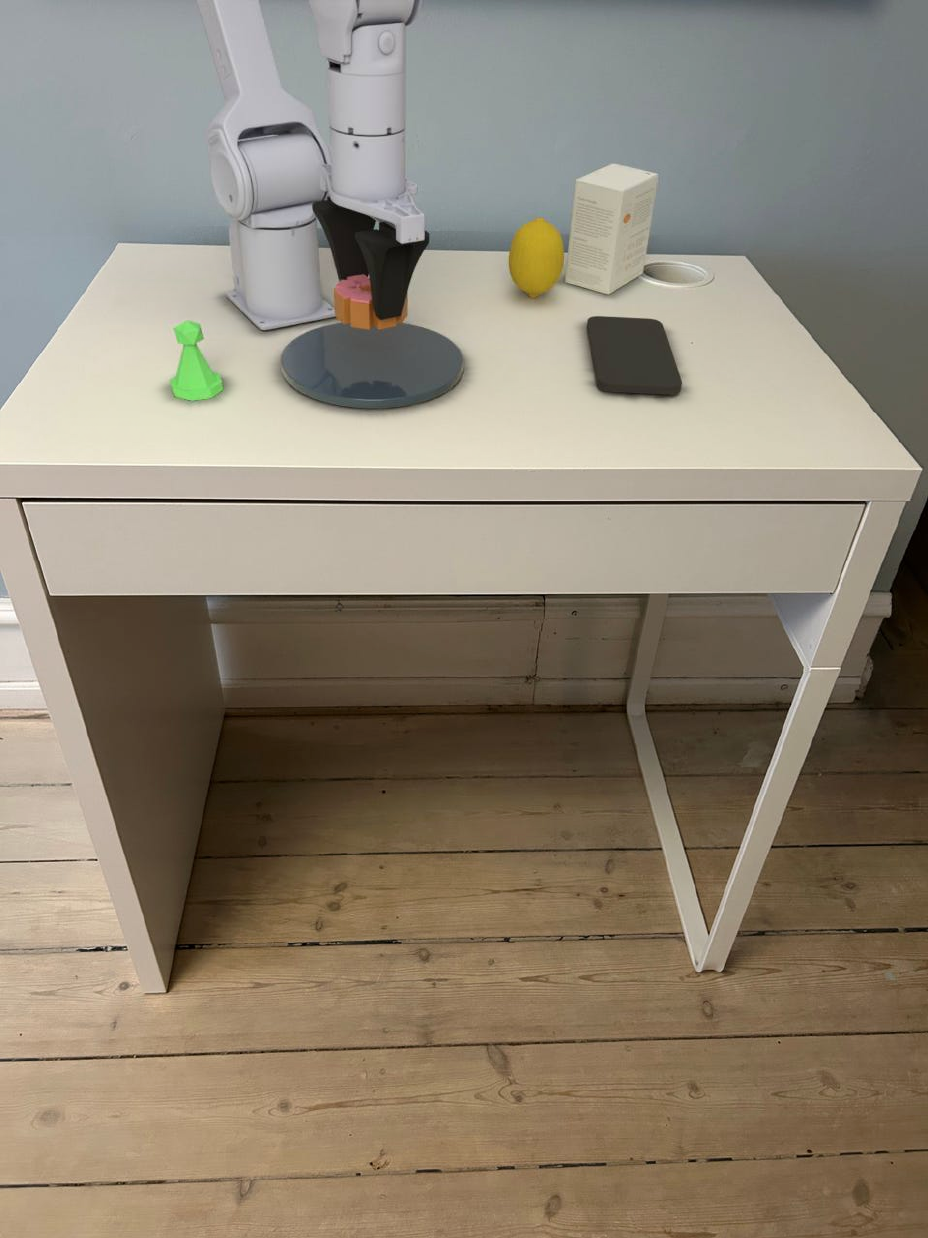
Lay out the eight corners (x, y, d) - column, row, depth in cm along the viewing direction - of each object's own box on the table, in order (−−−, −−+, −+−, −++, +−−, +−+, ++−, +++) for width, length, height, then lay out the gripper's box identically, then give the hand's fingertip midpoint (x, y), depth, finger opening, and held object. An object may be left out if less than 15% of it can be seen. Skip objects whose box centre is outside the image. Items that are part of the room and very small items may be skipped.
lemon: (556, 311, 96) (564, 229, 91) (501, 304, 97) (507, 223, 91) (562, 290, 100) (571, 211, 95) (510, 284, 101) (516, 205, 96)
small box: (599, 262, 107) (612, 161, 100) (644, 274, 104) (660, 172, 98) (562, 282, 102) (573, 177, 95) (608, 296, 99) (623, 189, 93)
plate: (253, 349, 86) (252, 339, 86) (408, 318, 93) (408, 308, 92) (329, 427, 76) (328, 416, 75) (497, 385, 83) (498, 375, 82)
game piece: (228, 378, 82) (219, 310, 78) (217, 401, 79) (208, 332, 75) (177, 376, 82) (166, 308, 78) (165, 399, 79) (152, 329, 75)
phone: (661, 318, 93) (685, 388, 82) (660, 327, 94) (683, 396, 82) (586, 315, 93) (598, 383, 82) (585, 323, 94) (597, 392, 82)
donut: (324, 308, 82) (322, 280, 81) (386, 296, 85) (385, 269, 83) (355, 334, 78) (354, 306, 77) (418, 321, 81) (419, 293, 79)
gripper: (462, 145, 69) (455, 325, 78) (371, 100, 78) (374, 265, 87) (375, 156, 66) (378, 341, 75) (291, 107, 75) (302, 278, 84)
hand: (371, 302), depth 81 cm, fingers closed on donut, 6 cm apart
